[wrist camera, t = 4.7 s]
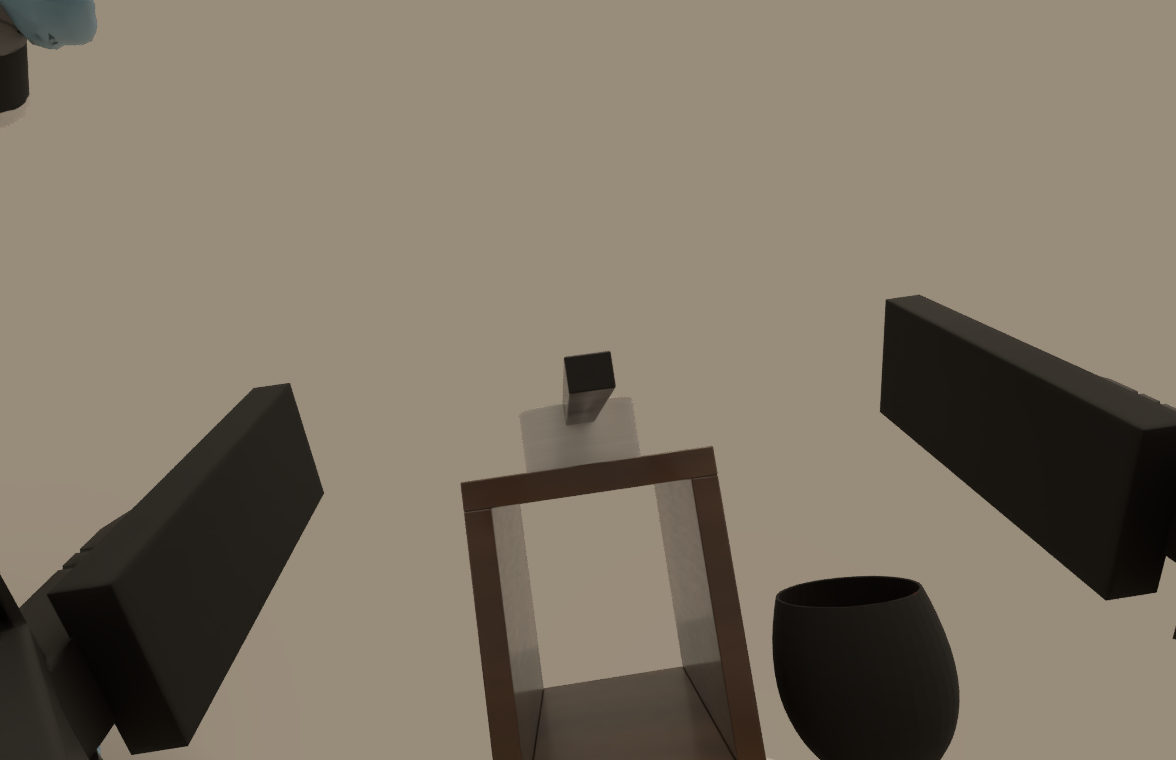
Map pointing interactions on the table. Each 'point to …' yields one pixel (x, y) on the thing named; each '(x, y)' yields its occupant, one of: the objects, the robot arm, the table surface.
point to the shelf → (633, 702)
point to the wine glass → (865, 669)
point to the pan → (581, 419)
